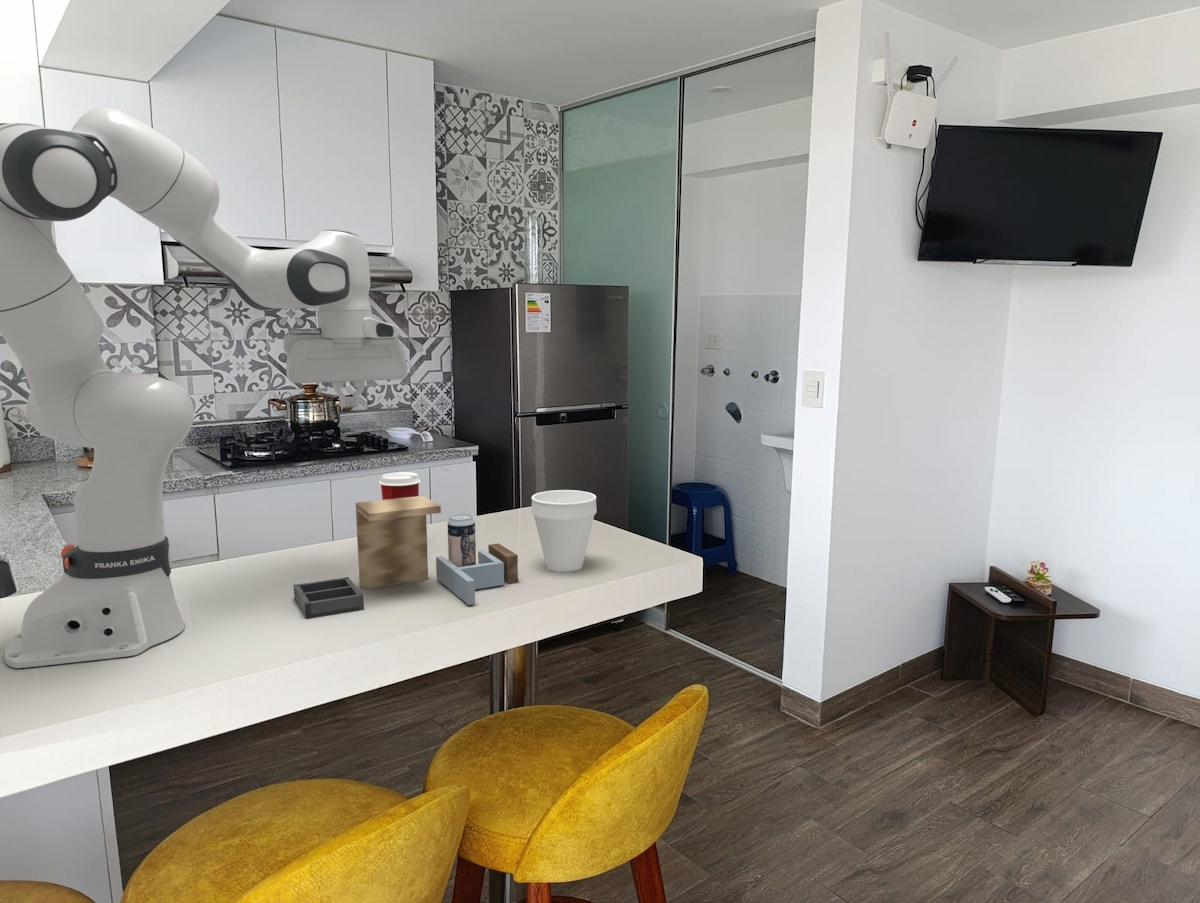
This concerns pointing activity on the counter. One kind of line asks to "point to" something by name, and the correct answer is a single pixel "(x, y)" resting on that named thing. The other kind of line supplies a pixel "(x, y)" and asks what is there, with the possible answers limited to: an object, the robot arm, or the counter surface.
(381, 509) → the tunnel
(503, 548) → the end stop
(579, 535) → the cup
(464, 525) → the beer can
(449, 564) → the blue grey drawer
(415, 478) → the coffee cup
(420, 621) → the counter surface
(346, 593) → the tray
